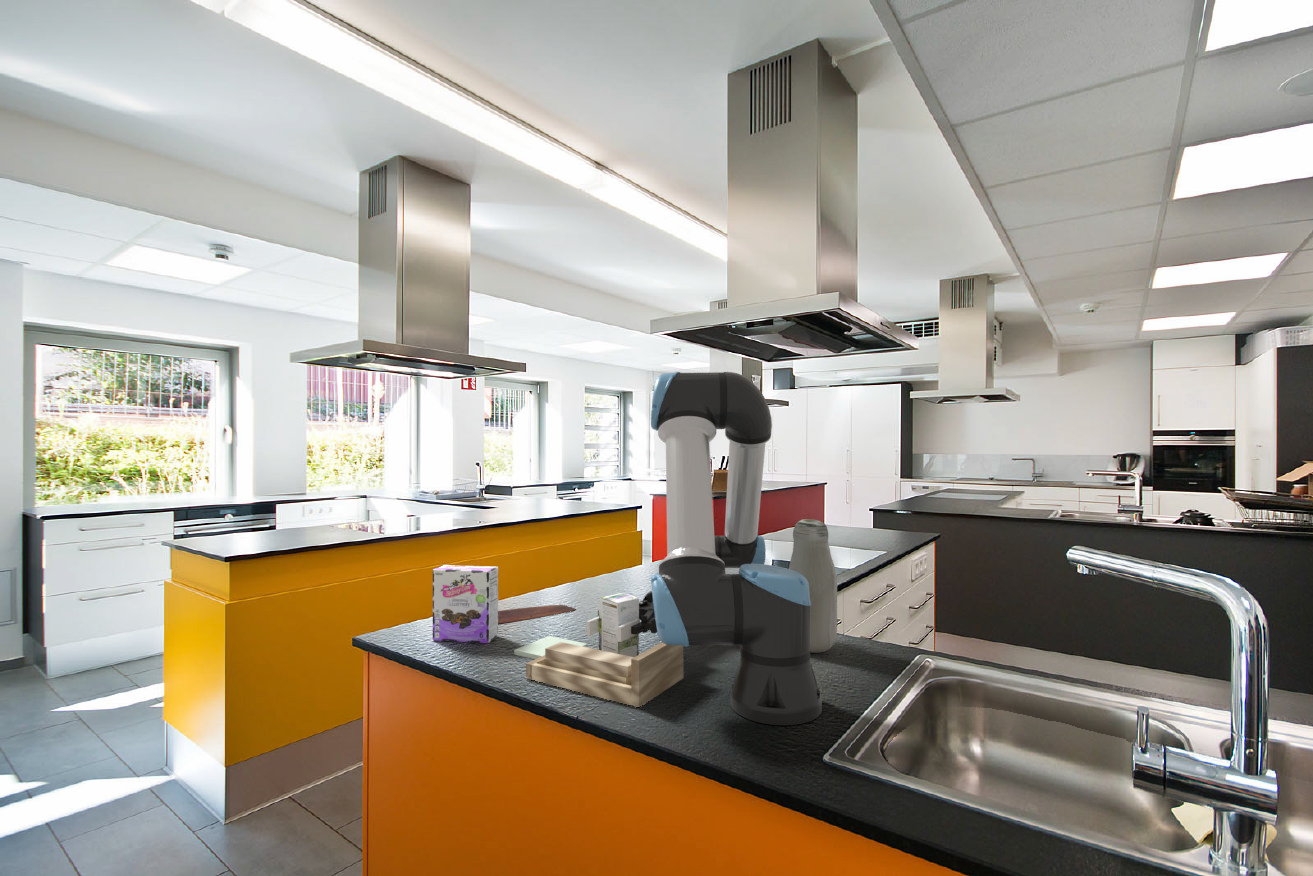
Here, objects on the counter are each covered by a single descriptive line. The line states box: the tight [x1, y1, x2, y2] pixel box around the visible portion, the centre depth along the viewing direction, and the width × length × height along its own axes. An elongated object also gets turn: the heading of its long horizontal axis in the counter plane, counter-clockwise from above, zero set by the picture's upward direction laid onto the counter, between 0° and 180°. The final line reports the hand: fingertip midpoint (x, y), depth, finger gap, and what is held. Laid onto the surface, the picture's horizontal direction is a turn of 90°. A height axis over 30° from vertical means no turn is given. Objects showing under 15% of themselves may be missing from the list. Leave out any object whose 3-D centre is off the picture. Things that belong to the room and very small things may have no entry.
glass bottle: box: [788, 518, 838, 654], centre depth 132 cm, size 10×10×28 cm
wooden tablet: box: [498, 604, 577, 625], centre depth 162 cm, size 26×2×10 cm
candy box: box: [432, 564, 499, 644], centre depth 142 cm, size 14×6×16 cm, turn 80°
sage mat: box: [513, 635, 589, 660], centre depth 133 cm, size 11×11×1 cm
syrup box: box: [598, 592, 640, 657], centre depth 121 cm, size 6×6×14 cm
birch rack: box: [525, 641, 684, 708], centre depth 117 cm, size 26×16×8 cm, turn 59°
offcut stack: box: [544, 642, 634, 686], centre depth 114 cm, size 20×4×6 cm, turn 58°
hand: (603, 631), depth 117 cm, fingers closed on syrup box, 7 cm apart
